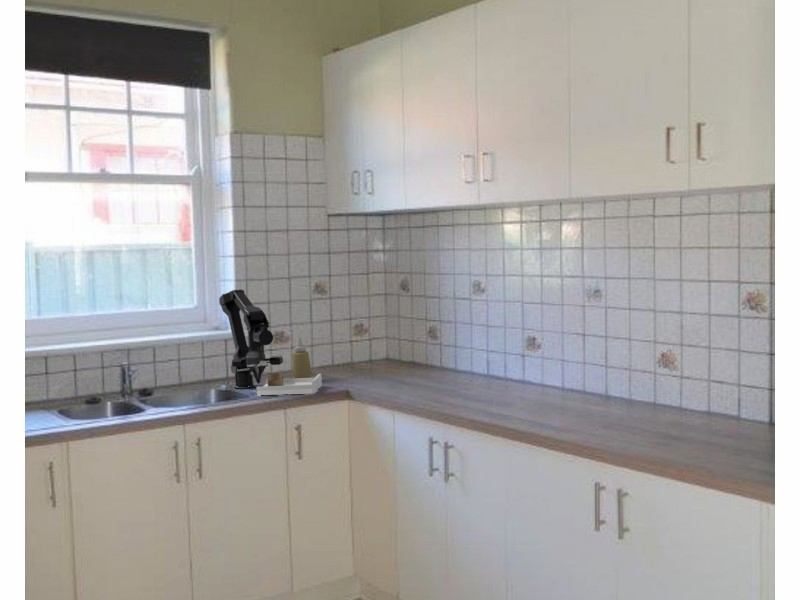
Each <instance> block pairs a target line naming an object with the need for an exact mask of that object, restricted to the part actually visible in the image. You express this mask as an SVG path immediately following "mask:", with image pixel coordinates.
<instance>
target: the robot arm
mask: <svg viewBox="0 0 800 600" xmlns="http://www.w3.org/2000/svg"><path fill="white" fill-rule="evenodd" d="M218 301H219V303H218V304H219V306H221V307H220V308H221V309H222V310H221V311H222V312H223V313H224V314H225V315H226V316H227V318H228V322H229V327H230V330H231V335H232V339H233V344H234V349H235V350H234V353H233V356H232V357H233V359H231V366H230V370H231V373H232V374H234V376H235V378H234V379H235V387H236V386H238V387H248V386H249V387H250V386H253V385H254V386H255V382H256V384H260V383H261V382H262V378H263V375H264V374H263V373H264V371H265V370H266V369H265V368H267V367H268V366H269V364H270V365H271V366H279V365H281V364H283V363H284V358H283V356H282V355H271V356H270V357H269V358H268V357H266V353H265V346H268V345H270V344H272V343H273V341H274V335H273V333H272V331H270V330H269V328H270V326H269V325H270V322H269V320H268V318H267V316H266V313H265V312H264V311H263V310H262V309H261V308H260V307H257V306H255V305H254V304H253V303H252V302H251V300H250V298H248V296H247V295H246V294H245V290H244V289H232V290H230V291H228V292H226V293H222V294H221V296H219V299H218ZM240 311H241V312H242V314H243V322H244V324H245V327H246V331H247V339H246V334H245V330H244V325H243V322H242V317H241V312H240ZM247 340H248V344H247ZM254 386H253V387H254Z"/></svg>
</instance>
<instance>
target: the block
mask: <svg viewBox="0 0 800 600" xmlns="http://www.w3.org/2000/svg"><path fill="white" fill-rule="evenodd" d="M283 379H284V372H269V373H268V374H267V375H266V380H267V381H268V386H283V385H284V384H283Z"/></svg>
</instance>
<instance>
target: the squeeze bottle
mask: <svg viewBox="0 0 800 600" xmlns="http://www.w3.org/2000/svg"><path fill="white" fill-rule="evenodd" d="M291 356H292V357H291V359H292V360H291V376H292V379H295V378H312V367H311V361H310V354H309V352H308V351H307V347H306V346H304V344H303V341H302V337H297V342H296V346H295V347H294V352H293V353H292V355H291Z"/></svg>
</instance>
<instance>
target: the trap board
mask: <svg viewBox="0 0 800 600" xmlns="http://www.w3.org/2000/svg"><path fill="white" fill-rule="evenodd" d="M322 380H323V379H322V373H318V374H317V375H316V376H315V377H310V378H295V379H294V378H283V384H284V385H283V386H268V381H267V379H265V384H264V385H263V386H256V396H257V397H262V396H261V395H270V394H271V395H272V394H305V395H308V394H307V393H316V392H317V393H318V392H319V390H320V389H321V388H322V387H323V381H322ZM321 386H322V387H321ZM320 387H321V388H320ZM319 388H320V389H319ZM318 389H319V390H318ZM317 393H316V394H317Z"/></svg>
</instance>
